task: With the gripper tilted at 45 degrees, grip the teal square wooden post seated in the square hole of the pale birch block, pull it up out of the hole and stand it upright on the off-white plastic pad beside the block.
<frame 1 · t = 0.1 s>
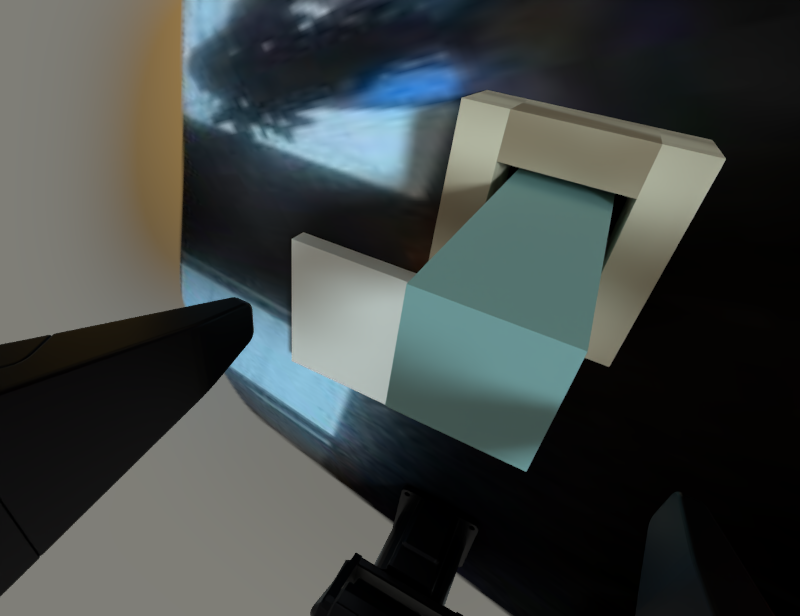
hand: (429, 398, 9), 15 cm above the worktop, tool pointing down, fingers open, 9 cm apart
pad: (365, 323, 29), on the worktop
socket block: (554, 215, 20), on the worktop
post: (525, 272, 15), in the socket block
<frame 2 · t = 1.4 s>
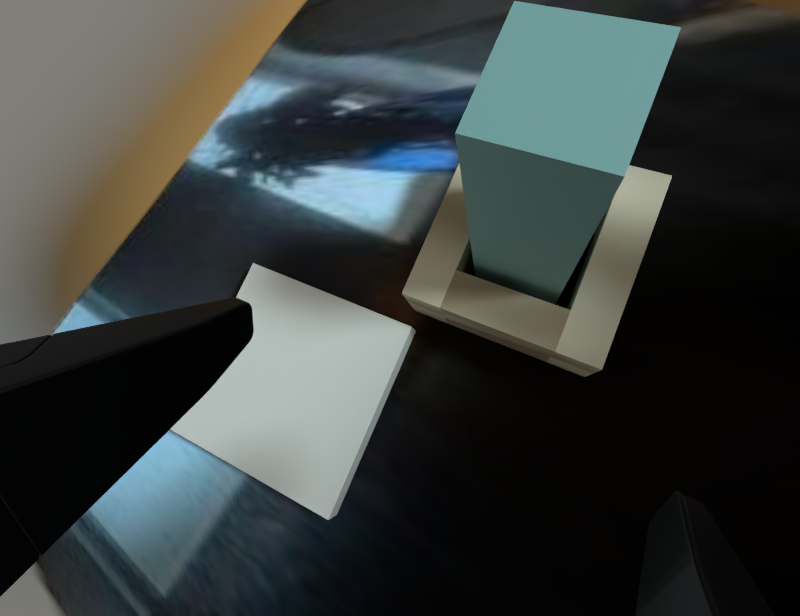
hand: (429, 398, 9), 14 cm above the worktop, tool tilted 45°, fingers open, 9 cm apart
pad: (297, 381, 24), on the worktop
socket block: (526, 262, 23), on the worktop
post: (538, 206, 17), in the socket block
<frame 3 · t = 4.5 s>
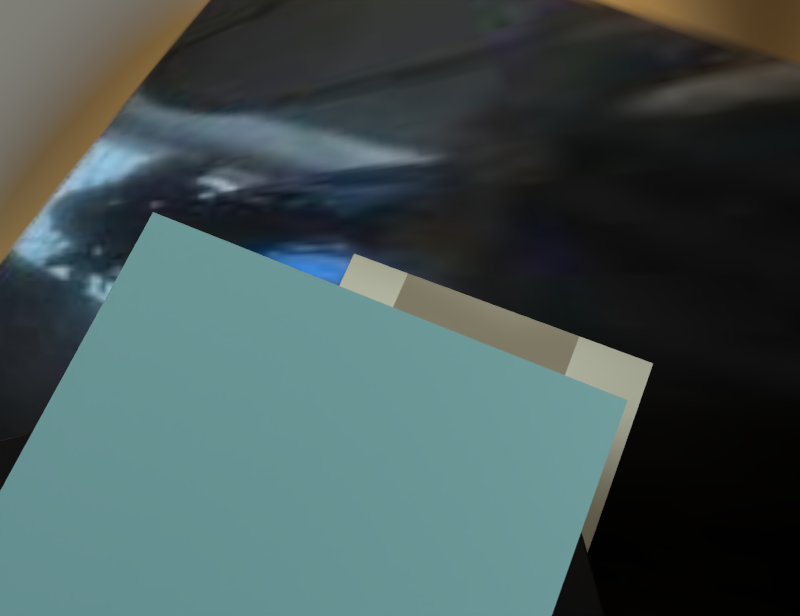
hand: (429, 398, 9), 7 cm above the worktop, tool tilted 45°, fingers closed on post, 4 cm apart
socket block: (442, 443, 15), on the worktop
post: (407, 461, 9), in the socket block, touching gripper
when the fingers open (9 cm above the worktop, at t = 8.2 s): post stays where it is, resting on pad.
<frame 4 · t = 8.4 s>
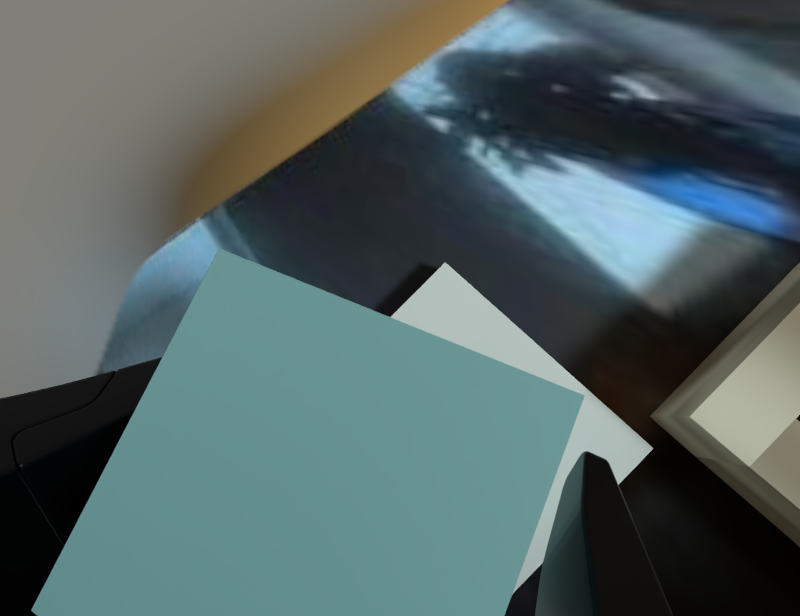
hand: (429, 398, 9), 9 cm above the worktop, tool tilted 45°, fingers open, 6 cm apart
pad: (449, 439, 17), on the worktop
post: (415, 455, 10), on the pad, point 8 cm above the worktop
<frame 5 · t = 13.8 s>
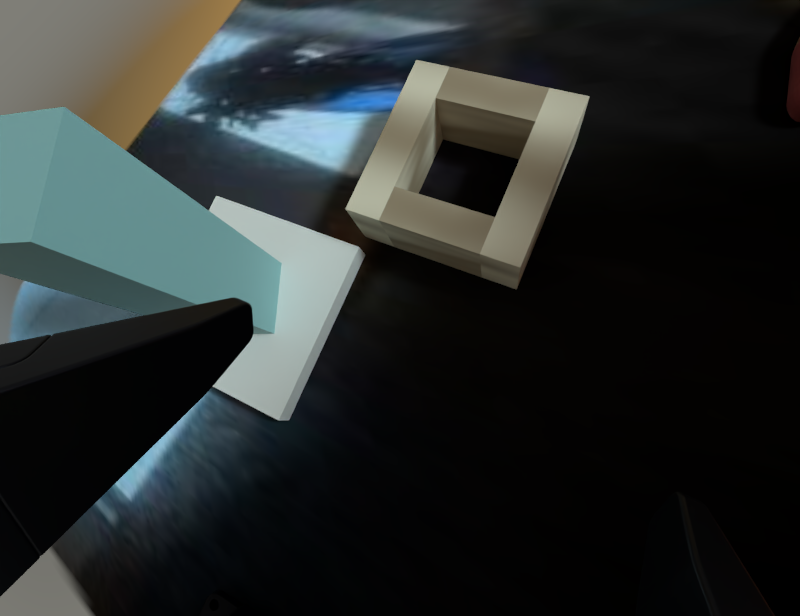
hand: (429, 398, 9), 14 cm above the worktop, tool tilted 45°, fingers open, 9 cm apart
pad: (256, 303, 26), on the worktop
socket block: (467, 190, 24), on the worktop
post: (160, 258, 18), on the pad, point 8 cm above the worktop
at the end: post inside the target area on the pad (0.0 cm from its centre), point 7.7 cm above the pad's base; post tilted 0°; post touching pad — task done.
